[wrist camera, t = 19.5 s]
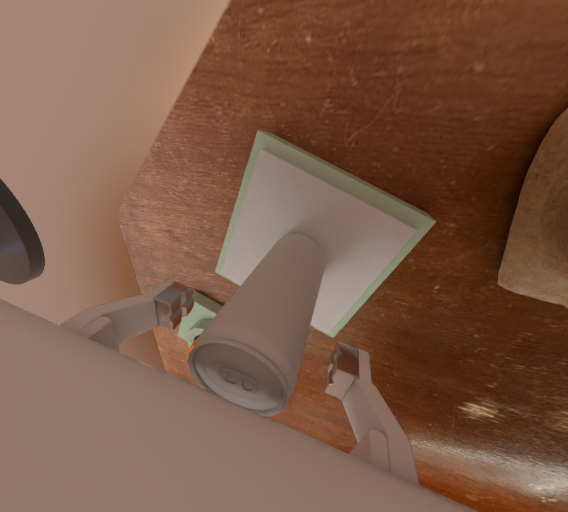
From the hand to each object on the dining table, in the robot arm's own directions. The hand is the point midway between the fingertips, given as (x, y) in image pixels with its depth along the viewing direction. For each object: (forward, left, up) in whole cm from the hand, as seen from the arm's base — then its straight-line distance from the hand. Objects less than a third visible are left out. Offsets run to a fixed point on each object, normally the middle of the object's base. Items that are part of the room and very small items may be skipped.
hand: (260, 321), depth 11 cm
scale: (0, 0, -12) cm, 12 cm away
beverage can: (0, 0, -9) cm, 9 cm away
